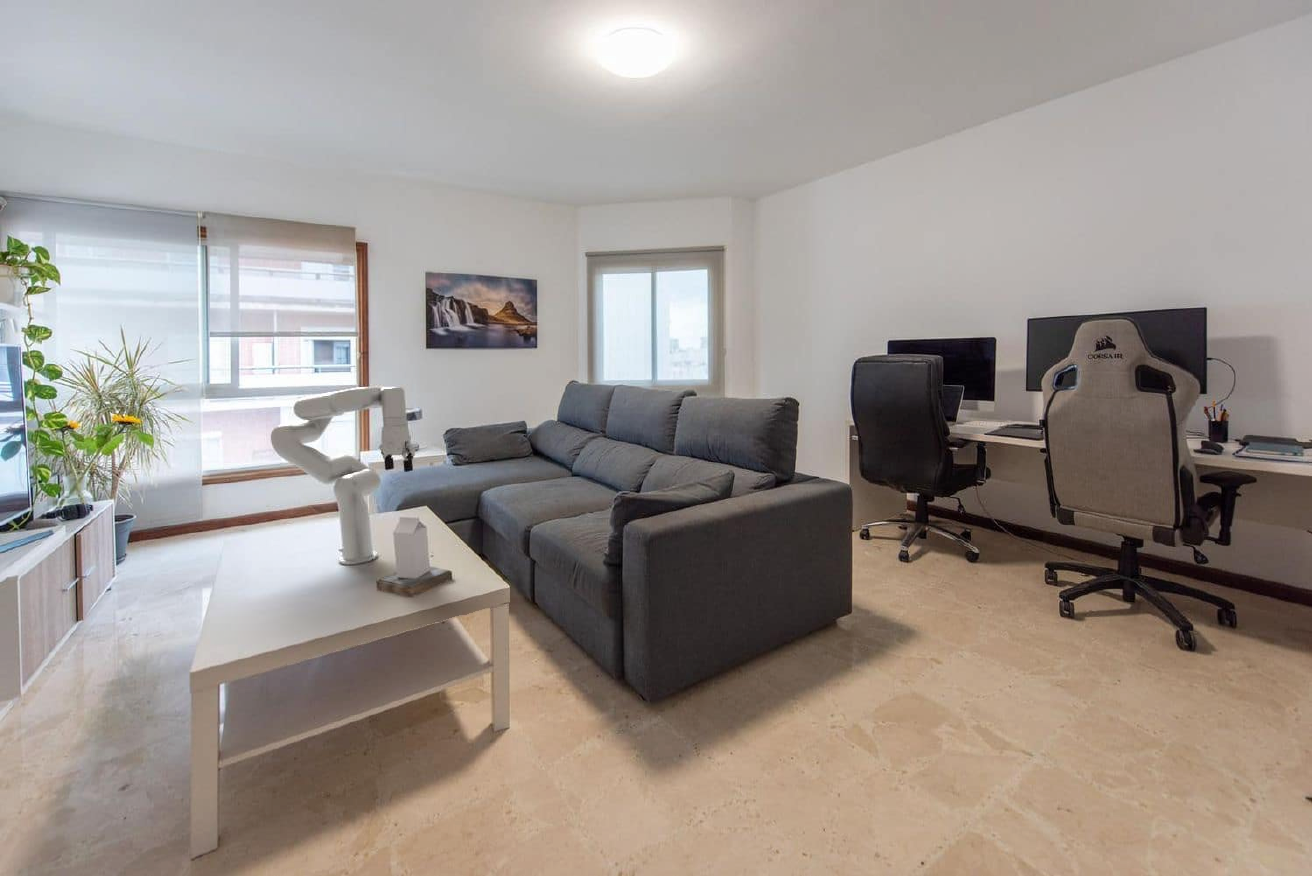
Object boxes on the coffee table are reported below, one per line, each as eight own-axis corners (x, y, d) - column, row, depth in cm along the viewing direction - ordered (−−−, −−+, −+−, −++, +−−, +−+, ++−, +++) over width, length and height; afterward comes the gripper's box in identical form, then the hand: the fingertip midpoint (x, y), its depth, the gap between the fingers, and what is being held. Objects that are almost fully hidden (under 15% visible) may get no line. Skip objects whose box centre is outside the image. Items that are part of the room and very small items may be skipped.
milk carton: (416, 579, 179) (411, 520, 177) (396, 577, 181) (391, 519, 178) (430, 571, 186) (425, 514, 184) (411, 569, 188) (406, 514, 185)
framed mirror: (376, 588, 180) (375, 579, 180) (418, 571, 194) (417, 563, 194) (411, 597, 173) (411, 587, 173) (452, 578, 187) (451, 570, 187)
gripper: (369, 422, 199) (373, 470, 202) (403, 424, 192) (407, 474, 194) (387, 420, 206) (391, 466, 208) (421, 421, 198) (424, 470, 201)
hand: (399, 470), depth 201 cm, fingers open, 9 cm apart
